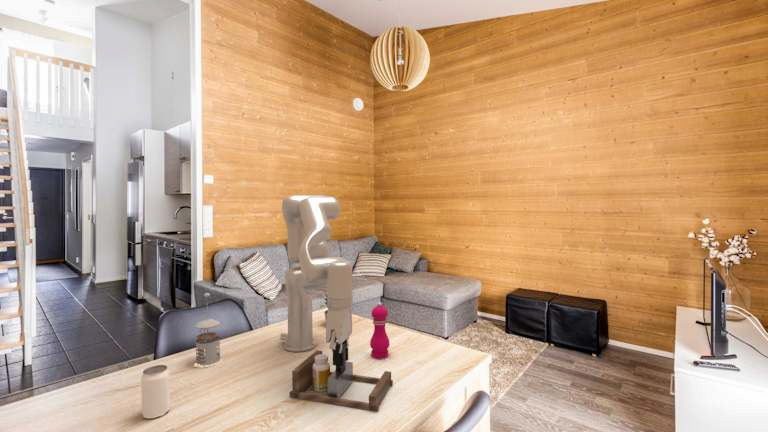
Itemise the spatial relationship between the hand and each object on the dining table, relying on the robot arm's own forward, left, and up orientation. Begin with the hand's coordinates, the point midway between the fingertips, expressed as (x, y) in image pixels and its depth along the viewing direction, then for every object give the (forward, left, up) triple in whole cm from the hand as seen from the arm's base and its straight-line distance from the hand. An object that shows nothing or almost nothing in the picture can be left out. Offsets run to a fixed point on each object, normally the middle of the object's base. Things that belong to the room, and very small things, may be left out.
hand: (340, 362), depth 112 cm
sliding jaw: (0, 0, -9) cm, 9 cm away
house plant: (-29, +55, -9) cm, 63 cm away
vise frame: (+1, 0, -9) cm, 9 cm away
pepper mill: (+4, +28, -9) cm, 30 cm away
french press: (-54, +6, -9) cm, 55 cm away
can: (-43, -25, -9) cm, 51 cm away
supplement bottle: (-6, 0, -9) cm, 11 cm away
